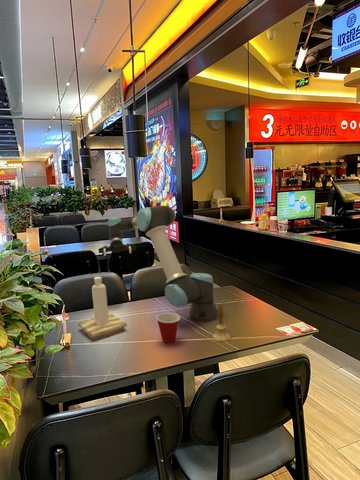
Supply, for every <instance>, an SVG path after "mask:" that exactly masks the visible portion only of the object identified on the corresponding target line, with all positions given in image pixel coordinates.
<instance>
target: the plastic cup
mask: <svg viewBox="0 0 360 480" xmlns="http://www.w3.org/2000/svg"><path fill="white" fill-rule="evenodd" d="M155 319H156V321H157V324H158V328H159V329H158V330H159V333H160V336H161V340H162V343H163V344H165V345H173V344H175V342H176V339H177V332H178V325H179V321H180V319H181V315H179V314H177V313H172V312H164V313H163V312H161V313H160V314H158V315H156V317H155Z"/></svg>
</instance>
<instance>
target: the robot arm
mask: <svg viewBox="0 0 360 480" xmlns="http://www.w3.org/2000/svg"><path fill="white" fill-rule="evenodd" d="M175 220H176V212H175V210H174V209H173V208H172V207H170V206H168V205H157V206H152V207H151V206H149V207H148V206H147V207H144V208H140V209H139V210H138V212H137V214H136V216H134V217H129V218H121V217H120V216H111V217H109V218H108V223H107V224H108V231H109V244H110V245H104V246H102V247H99V248H98V254H102V255H103V257H104V256H107V254H106V253H109V252H114V253H120V252H122V251H129V254H132V252H133V251H136V250H137V246H136V245H134V244H130V243H126V244H124V241H123V232H127V231H133V230H139V231H141V232H144V234H145V236H146V237H148V238H150V241H151V243H152V245H153V248H154V250H155V253H156V255H157V258H158V260H159V262H160V265H161V268H162V270H163V272H164V274H165V277H166V279H167V280H166V282H165V285H166V287H165V288H164V296H165V298H166V300H167V303H169V304H170V305H171V306H173V307H176V308H179V307H182V306H183V307H185V306H186V305H188V304H191V305H190V309H189V312H188V317H189V319H190V320H192V321H194V322H200V323H201V322H202V323H203V322H211V321H214V320H216V319H217V318H219V316H218V312H217V309H218V308H217V307H216V304H215V301H214V299H215V297H214V294H215V293H214V279H213V276H212V274H209V273H205V272H194V273H191V274H190V276H188V274H187V273H184V272H183V269H182V267H181V265H180V262H179V260H178V258H177V256H176V252H175V251H174V248H173V246H172V243H171V241H170V239H169V237H168V234H167V227H170V226H171V225H173V224H174V222H175Z"/></svg>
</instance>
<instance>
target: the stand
mask: <svg viewBox="0 0 360 480" xmlns="http://www.w3.org/2000/svg"><path fill="white" fill-rule="evenodd" d="M108 318H109V323H108V324H106V325H101V326H99V325H96V324H95V317H94V318H90V319H87V320H83V321H79V322H77V325H78V327H79V328H80V329H81V331H82V332H83V334H85V335H86V336H88V337H89V338H90V339H92V341H97V340H101V339H104V338H107V337H110V336H113V335H117V334H119V333H122V332H125V327H127V326H128V323H127V322H126V321H124V320H123V319H121V318H119V317H117V316H116V315H114V314H113V313H112V312H111V313H108Z"/></svg>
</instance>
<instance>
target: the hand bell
mask: <svg viewBox="0 0 360 480" xmlns="http://www.w3.org/2000/svg"><path fill="white" fill-rule="evenodd" d="M216 309H217V312H218V323H219V324H217V325H216V327H215V333H214V334H213V335H212V340H213V341H216V342H227V341H229V340H231V337H232V336H231V335H230V333H228V330H227V326H226V325H225V324H224V322H223V317H224V308H223V305H222V304H221V303H219V304H218V305H217V308H216Z"/></svg>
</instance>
